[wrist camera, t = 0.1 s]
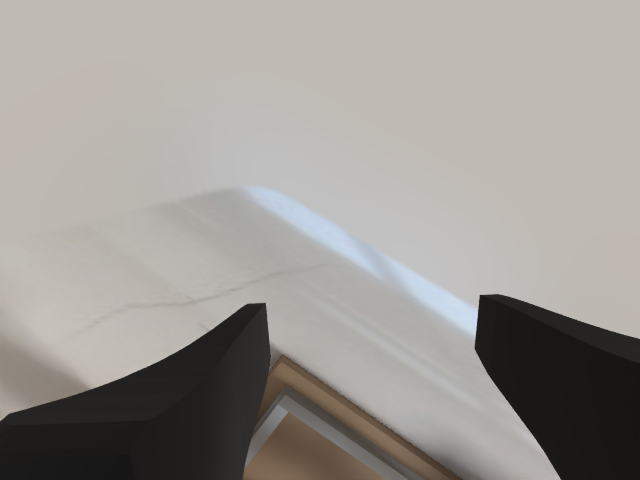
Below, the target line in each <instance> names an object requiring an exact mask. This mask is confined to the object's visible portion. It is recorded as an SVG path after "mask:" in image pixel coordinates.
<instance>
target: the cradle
mask: <svg viewBox="0 0 640 480" xmlns="http://www.w3.org/2000/svg"><path fill="white" fill-rule="evenodd" d="M242 480H462V479H460V478H459V477H458V476H456V475H455V474H453V473H452V472H450V471H449V470H448V469H446V468H445V467H443V466H442V465H440V464H439V463H438V462H436V461H435V460H433V459H432V458H430V457H429V456H428V455H426V454H425V453H423V452H422V451H420V450H419V449H417V448H416V447H415V446H413V445H412V444H410V443H409V442H407V441H406V440H405V439H403V438H402V437H400V436H399V435H397V434H396V433H395V432H393V431H392V430H390V429H389V428H387V427H386V426H385V425H383V424H382V423H380V422H379V421H377V420H376V419H374V418H373V417H372V416H370V415H369V414H367V413H366V412H364V411H363V410H362V409H360V408H359V407H357V406H356V405H354V404H353V403H352V402H350V401H349V400H347V399H346V398H344V397H343V396H342V395H340V394H339V393H337V392H336V391H334V390H333V389H331V388H330V387H329V386H327V385H326V384H324V383H323V382H321V381H320V380H319V379H317V378H316V377H314V376H313V375H311V374H310V373H309V372H307V371H306V370H304V369H303V368H301V367H300V366H299V365H297V364H296V363H294V362H293V361H291V360H290V359H289V358H287V357H286V356H284V355H282V356H281V358H280V359H279V360H278V362H277V363H276V364H275V366H274V367H273V368H272V370H271V371H270V372H269V374H268V378H267V384H266V388H265V392H264V395H263V399H262V403H261V406H260V410H259V413H258V417H257V421H256V424H255V428H254V431H253V435H252V438H251V442H250V446H249V450H248V454H247V458H246V462H245V468H244V474H243V479H242Z"/></svg>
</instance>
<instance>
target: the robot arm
mask: <svg viewBox="0 0 640 480" xmlns="http://www.w3.org/2000/svg"><path fill="white" fill-rule="evenodd" d="M475 350H476V352H477V354H478V356H479V358H480V360H481V362H482V364H483V366H484V368H485V369H486V371H487V373H488V375H489V376H490V378H491V379H492V380H493V382H494V383H495V385H496V386H497V387H498V389H499V390H500V391H501V393H502V394H503V396H504V397H505V398H506V400H507V401H508V402H509V404H510V405H511V406H512V408H513V409H514V410H515V412H516V413H517V414H518V416H519V417H520V419H521V420H522V421H523V423H524V424H525V425H526V427H527V428H528V429H529V431H530V432H531V433H532V435H533V436H534V437H535V439H536V440H537V442H538V443H539V445H540V446H541V448H542V449H543V451H544V452H545V454H546V455H547V457H548V459H549V460H550V462H551V464H552V465H553V467H554V469H555V470H556V472H557V474H558V475H559V477H560V478H561V480H640V339H638V338H634V337H630V336H626V335H623V334H619V333H616V332H612V331H609V330H606V329H603V328H599V327H596V326H593V325H590V324H587V323H584V322H581V321H578V320H575V319H572V318H569V317H566V316H563V315H560V314H558V313H555V312H552V311H549V310H546V309H544V308H541V307H538V306H535V305H532V304H529V303H527V302H524V301H521V300H518V299H515V298H511V297H508V296H504V295H499V294H494V295H480V299H479V309H478V319H477V330H476V340H475ZM270 357H271V356H270V345H269V333H268V322H267V311H266V303H255V304H247V305H245V306H243V307H242V308H240V309H239V310H238V311H236V312H235V313H234V314H232V315H231V316H230V317H229V318H227V319H226V320H224V321H223V322H222V323H220V324H219V325H218V326H216V327H215V328H214V329H212V330H211V331H209V332H208V333H206V334H205V335H203V336H202V337H200V338H199V339H197V340H196V341H194V342H193V343H191V344H190V345H188V346H186V347H185V348H183V349H181V350H179V351H178V352H176V353H174V354H172V355H170V356H168V357H167V358H165V359H163V360H161V361H159V362H157V363H155V364H152V365H150V366H148V367H146V368H144V369H141V370H139V371H137V372H135V373H132V374H130V375H128V376H126V377H123V378H121V379H118V380H116V381H113V382H110V383H108V384H105V385H103V386H100V387H97V388H94V389H91V390H88V391H85V392H82V393H79V394H76V395H73V396H70V397H67V398H64V399H60V400H57V401H53V402H50V403H46V404H43V405H39V406H36V407H32V408H29V409H25V410H21V411H18V412H14V413H10V414H8V415H7V416H6V417H5V418H4V419H2V420H1V421H0V480H242V479H243V474H244V468H245V462H246V458H247V454H248V450H249V446H250V442H251V438H252V435H253V431H254V428H255V424H256V421H257V417H258V413H259V410H260V406H261V403H262V399H263V395H264V392H265V388H266V384H267V378H268V372H269V364H270Z"/></svg>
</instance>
